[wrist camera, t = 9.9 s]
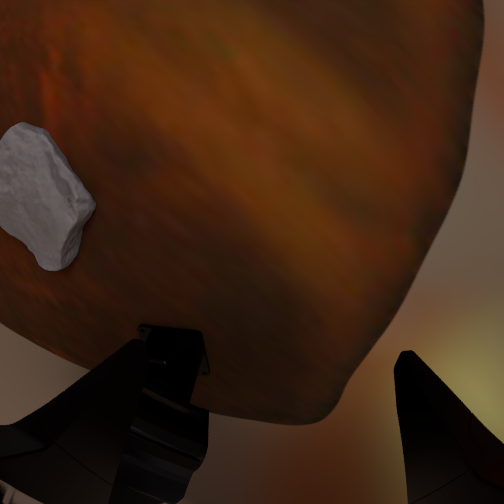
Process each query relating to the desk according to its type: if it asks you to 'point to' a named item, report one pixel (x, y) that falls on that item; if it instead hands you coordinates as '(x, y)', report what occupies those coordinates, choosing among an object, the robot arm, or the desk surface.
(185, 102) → the desk surface
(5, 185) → the stone block
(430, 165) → the desk surface
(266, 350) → the desk surface
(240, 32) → the desk surface
